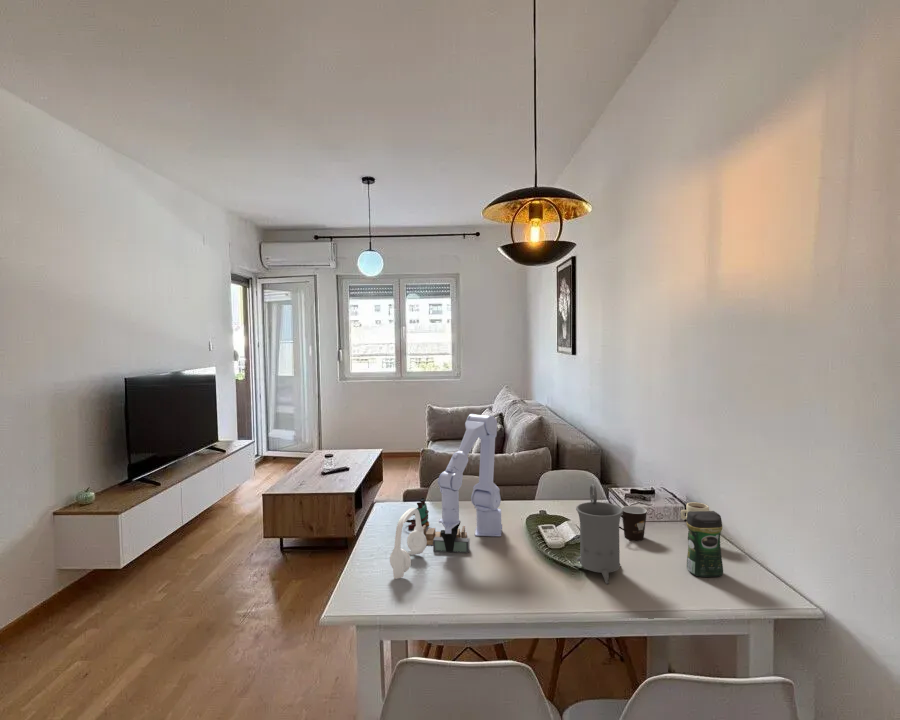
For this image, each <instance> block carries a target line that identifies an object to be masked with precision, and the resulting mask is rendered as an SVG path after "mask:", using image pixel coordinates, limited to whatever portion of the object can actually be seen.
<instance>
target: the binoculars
mask: <svg viewBox="0 0 900 720" xmlns="http://www.w3.org/2000/svg"><path fill="white" fill-rule="evenodd" d="M416 505H417V507H415V508H416V509H418V511H419V513H420V518H421V525H422V527H423V525H426V527H428V526H430V522H429V521H428V520H429V510H428V506H427V503H426V498H425V497H420V498H419V502H416ZM412 516H415V514H413V515H412ZM405 523H411V524H408V525H407V526H408V527H407V528H408V530H412V529H413V530H414V527H415V526H416V520H415V517H413V519H408V520H407V521H406V522H405Z"/></svg>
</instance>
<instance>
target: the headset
mask: <svg viewBox="0 0 900 720" xmlns="http://www.w3.org/2000/svg"><path fill="white" fill-rule="evenodd" d="M416 508H417V507H410V508H409V509H407V510H406V511H405V512H404V513H403V514H402V515H401V516H400V518H399V520H398V522H397V525H396V530H395V536H394V547H393V549H392V551H391V553H390V556H389V563H390V566H391V568H392V574H393V579H394V580H396V579H397V580H398V579H401V578H403V577H404V575H405V573H407V572H408V570H409V569H410V568H411V565H412V558H411V556H414V555H420V554H423V553H424V551H425V549H426V548H427V540H426V537H425V535H424V529H423V527H422V525H421V518H420V513H419V511H418V509H416ZM413 514H415V515H413ZM412 516H414V518H415V520H416V526H415V527H414V528H413V530H412V531H410V532H409V534H408V535H407V540H406V544H407V547H408V549H409V550H408V551H406V549H403V548H402V547H401V544H402V543H401V542H402V541H401V540H402V532H403V527H404V524H405V523H407V522H406V521H407V520H410V518H411V517H412Z"/></svg>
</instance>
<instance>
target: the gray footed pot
mask: <svg viewBox="0 0 900 720" xmlns="http://www.w3.org/2000/svg"><path fill="white" fill-rule="evenodd" d="M597 493H598V492H597V487H596V485H595V483H592V484H590V486H589V498H590V501H588V502H582V503H579V504H577V506H576V507H575V510H576V511H577V512H576V513H578V518H579V542H580V545H579V547H580V550H579V552H580V555H579V556H578V557H576V559H575V561H576V560H577V561H580V566H581V567H583V568H584V569H586V570H587V571H591V572H594V573H601V575H602V577H603V580H604V582H605V584H606V585H609V584H610V583H609V579H610V578H609V577H610V576H609V574H610V573H613V572H616V571H618V570H619V569H620V566H621V563H620V555H621V554H620V552H621V551H620V528H619V526H620V523H621V522H620V521H621V518H622V517H621V515H622V513H623V510H622V509H621V508H622V507H620V506H618V505H616V504H614V503H609V502H603V501H602V502H600V501H597V500H598V494H597Z"/></svg>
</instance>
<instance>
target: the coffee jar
mask: <svg viewBox="0 0 900 720" xmlns="http://www.w3.org/2000/svg"><path fill="white" fill-rule="evenodd" d="M686 527H687V529H688V531H689V540H688V548H687V555H686V569H687V571H688V572H690V574H691V575H694V576H695V577H696V576H697V577H701V578H703V577H704V578H713V577H714V578H715V577H721V576H722V575H724V564H723V558H722V557H723V556H722V548H721V533H722V531H723V522H722V516H721V515H720V514H719V513H718V512H717V511H715V510H709V511H689V512H688V513H687V520H686Z"/></svg>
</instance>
